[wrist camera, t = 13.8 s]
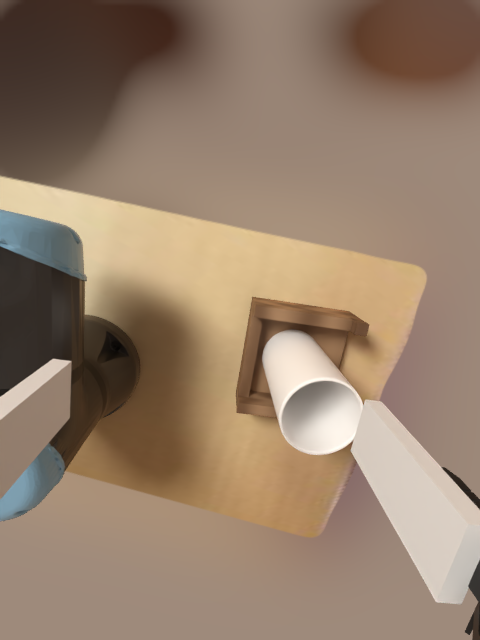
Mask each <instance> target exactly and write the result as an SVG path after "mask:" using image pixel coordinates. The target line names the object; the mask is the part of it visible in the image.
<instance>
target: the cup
mask: <svg viewBox="0 0 480 640" xmlns="http://www.w3.org/2000/svg"><path fill="white" fill-rule="evenodd" d="M262 362H263V367H264V370H265V374H266V378H267V381H268V385H269V389H270V392H271V396H272V400H273V404H274V407H275V411H276V415H277V418H278V422H279V426H280V429H281V431H282V434H283V436H284V437H285V439H286V440H287V441H288V443H289V444H290V445H291V446H293V447H294V448H295V449H297V450H299V451H301V452H304V453H307V454H312V455H325V454H330V453H334V452H336V451H339V450H341V449H343V448H344V447H346V446H347V445H348V444H350V443H351V442H352V441H353V440H354V437H355V434H356V430H357V427H358V423H359V420H360V416H361V413H362V409H363V403H362V400H361V398H360V396H359V395H358V393H357V392H356V390H355V389H354V388H353V387H352V385H351V384H350V383H349V382H348V380H347V379H346V378H345V377H344V376H343V374H342V373H341V372H340V371H339V369H338V368H337V367H336V366H335V365H334V363H333V362H332V361H331V360H330V358H329V357H328V356H327V355H326V354H325V352H324V351H323V350H322V349H321V347H320V346H319V345H318V344H317V343H316V341H315V340H314V339H313V338H312V337H311V336H310V335H308V334H307V333H305V332H303V331H300V330H285V331H282V332H279V333H277V334H276V335H274V336H273V337H272V338H271V339H270V340H269V341H268V342H267V344H266V345H265V347H264V350H263V354H262Z"/></svg>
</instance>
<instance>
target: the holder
mask: <svg viewBox="0 0 480 640" xmlns="http://www.w3.org/2000/svg"><path fill="white" fill-rule="evenodd" d="M368 328H369V324H367V323H366V322H364V321H363V320H361V319H360V318H358V317H357V316H355V315H354V314H352V313H350V312H349V311H343V310H336V309H329V308H323V307H316V306H310V305H303V304H296V303H290V302H283V301H277V300H270V299H263V298H257V297H252V303H251V309H250V314H249V320H248V326H247V332H246V338H245V343H244V349H243V355H242V361H241V367H240V372H239V378H238V384H237V390H236V405H237V413H243V414H251V415H259V416H267V417H275V418H277V415H276V411H275V407H274V404H273V400H272V396H271V392H270V389H269V385H268V381H267V378H266V374H265V370H264V367H263V362H262V354H263V350H264V347H265V345H266V344H267V342H268V341H269V340H270V339H271V338H272V337H273V336H274V335H276V334H277V333H279V332H282V331H285V330H300V331H303V332H305V333H307V334H308V335H310V336H311V337H312V338H313V339H314V340H315V341H316V343H317V344H318V345H319V346H320V347H321V349H322V350H323V351H324V352H325V354H326V355H327V356H328V357H329V358H330V360H331V361H332V362H333V363H334V365H335V366H336V367H337V368H338V369H339V366H340V362H341V358H342V354H343V350H344V346H345V342H346V338H347V334H348V331H351V332H352V333H353V334H354V335H360V336H367V332H368Z"/></svg>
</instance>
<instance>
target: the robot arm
mask: <svg viewBox="0 0 480 640" xmlns="http://www.w3.org/2000/svg"><path fill="white" fill-rule="evenodd" d="M85 281H87V277H86V275H85V274H84V260H83V245H82V241H81V239H80V237H79V235H78V234H77V233H76V232H75V231H74V230H73V229H71V228H70V227H68V226H66V225H63V224H59V223H56V222H52V221H48V220H44V219H39V218H35V217H31V216H27V215H22V214H18V213H14V212H9V211H5V210H0V521H5V520H10V519H13V518H16V517H19V516H21V515H23V514H25V513H27V511H29V510H31V509H32V508H34V507H36V506H37V505H38V504H39V503H40V502H41V501H42V500H43V499H44V498H45V497H46V496H47V494H48V493H49V492H50V491H51V490H52V489H53V487H54V486H55V485H56V484H58V483H59V481H60V480H61V479H62V477H63V474H64V471H65V470H66V468H67V467H68V465H69V464H70V462H71V461H72V460H73V458H74V457H75V455H76V454H77V452H78V451H79V449H80V448H81V446H82V445H83V443H84V442H85V440H86V439H87V437H88V436H89V434H90V433H91V431H92V430H93V428H94V427H95V425H96V424H97V422H98V421H99V420H100V419H101V418H103V417H106V416H108V415H110V414H112V413H114V412H115V411H117V410H118V409H119V408H121V407H122V406H123V405H124V404H125V403H126V401H127V400H128V399H129V398H130V396H131V394H132V393H133V391H134V389H135V387H136V385H137V383H138V380H139V375H140V362H139V357H138V354H137V351H136V349H135V347H134V345H133V343H132V342H131V340H130V339H129V337H128V336H127V335H126V334H125V333H124V332H123V331H122V330H121V329H120V328H118V327H117V326H116V325H114V324H112V323H111V322H109V321H107V320H104V319H102V318H99V317H95V316H90V315H85ZM351 452H352V454H353V456H354V458H355V459H356V461H357V463H358V465H359V466H360V468H361V470H362V472H363V474H364V475H365V477H366V479H367V481H368V482H369V484H370V486H371V488H372V489H373V491H374V493H375V495H376V497H377V498H378V500H379V502H380V504H381V505H382V507H383V509H384V511H385V513H386V514H387V516H388V518H389V519H390V521H391V523H392V525H393V527H394V528H395V530H396V532H397V534H398V536H399V537H400V539H401V541H402V543H403V544H404V546H405V548H406V550H407V551H408V553H409V555H410V557H411V559H412V560H413V562H414V564H415V566H416V567H417V569H418V571H419V573H420V575H421V576H422V578H423V580H424V581H425V583H426V585H427V587H428V588H429V590H430V592H431V594H432V596H433V598H434V599H435V601H436V602H440V603H441V602H442V603H453V604H462V602H463V599H464V597H465V595H466V593H467V590H468V588H470V590H471V591H472V593H473V594H474V596H475V597H476V599H477V600H478V604H477V606H476V608H475V611H474V613H473V615H472V617H471V619H470V622H469V624H468V626H467V628H466V630H465V632H466V633H467V634H469V635H470V633H471V631H472V630H473V640H480V499H479V498H478V497H477V496H476V495H475V494H474V493H472V492H471V490H470V489H469V488H468V487H467V486H466V485H465V484H464V482H463V481H462V480H461V479H460V478H458V477H457V476H456V475H454V474H453V473H452V472H450V471H449V470H447V469H446V468H444V467H440V466H439V465H438V463H437V462H436V461H435V460H434V459H433V458H432V457H431V456H430V455H429V453H428V452H427V451H426V450H425V449H424V448H423V447H422V446H421V445H420V444H419V443H418V441H417V440H416V439H415V438H414V437H413V436H412V435H411V434H410V433H409V432H408V430H407V429H406V428H405V427H404V426H403V425H402V424H401V423H400V422H399V421H398V419H397V418H396V417H395V416H394V415H393V414H392V413H391V412H390V411H389V410H388V408H387V407H386V406H385V405H384V404H383V403H382V402H381V401H373V400H366V399H365V402H364V406H363V409H362V413H361V416H360V420H359V423H358V427H357V430H356V434H355V437H354V441H353V444H352V448H351Z"/></svg>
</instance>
